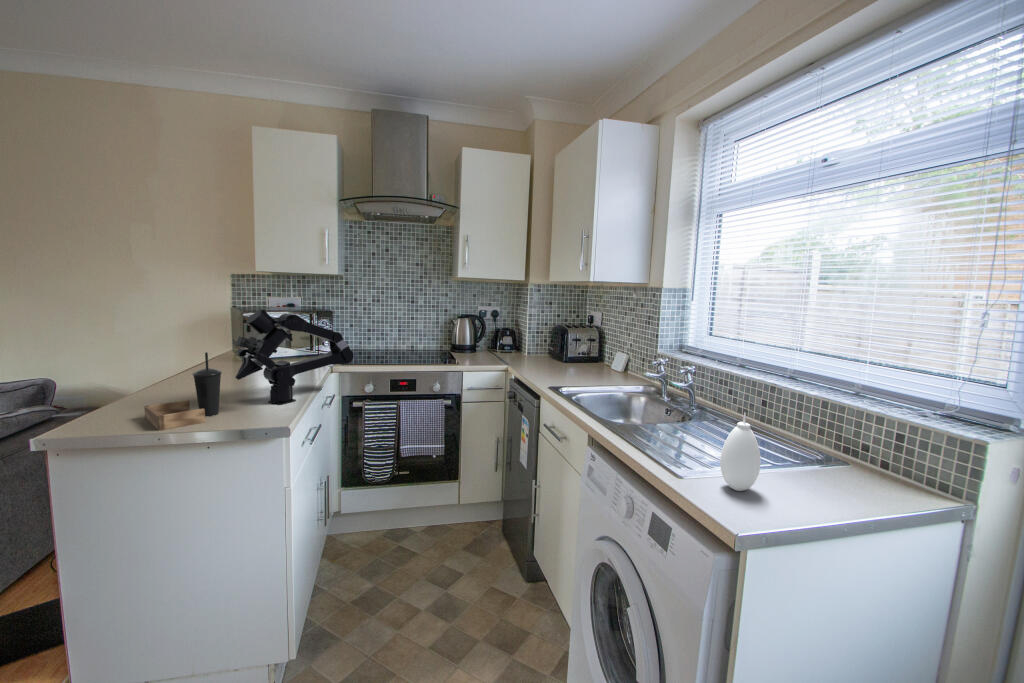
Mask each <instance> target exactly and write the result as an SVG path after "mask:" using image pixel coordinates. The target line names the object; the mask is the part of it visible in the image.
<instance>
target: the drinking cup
mask: <svg viewBox="0 0 1024 683" xmlns="http://www.w3.org/2000/svg"><path fill="white" fill-rule="evenodd" d="M208 356H209V353H208V352H204V357H205V358H204V359H205V360H204V361H205V368H202V369H199V370H197V371H195V372H193V373H192V376H193V379H194V386H195V391H196V392H195V393H196V397H197V404H198V409H203V408H204V409H205V416H209V417H214V416H213V415H215V416H217V415H219V413H220V412H219V409H220V408H219V407H220V393H221V392H220V391H221V378H222V375H221V374H223V372H222V370H218V369H215V368H210V367H209V357H208ZM216 414H217V415H216Z"/></svg>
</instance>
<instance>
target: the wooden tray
mask: <svg viewBox="0 0 1024 683" xmlns="http://www.w3.org/2000/svg"><path fill="white" fill-rule="evenodd" d="M190 405H191V404H190V400H189V399H184V400H177V401H170V402H163V403H156V404H150V405H145V406H144V407H143V408H144V419H145V420H146V421H147V420H148V421H149V422H150V424H151V425H152V424H153V425H154V426H155V427H154V426H153V425H152V426H153V427H154V428H156V429H157V428H158V429H159V430H160V431H164V430H163V429H165V430H170V428H171V429H176V428H180V427H186V426H192V425H197V424H203V423H206V417H205V409H204V408H203V409H199V408H197V409H191V406H190ZM148 421H147V422H148ZM149 422H148V423H149ZM158 429H157V430H158ZM159 430H158V431H159Z"/></svg>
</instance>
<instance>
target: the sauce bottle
mask: <svg viewBox="0 0 1024 683" xmlns="http://www.w3.org/2000/svg"><path fill="white" fill-rule="evenodd" d="M746 413H747V412H744V413H743V418H742V421H739V422H737V423H736V426H735V427H734V428H733V429H732V430H731V431H730V432H729V434H728V436H727V438H726V439H725V441H724V443H723V447H722V449H721V453H720V460H719V464H720V465H719V466H720V471H721V475H722V478H723V480H724V482H725V483H726V484H727V485H728V486H729V488H731V489H732V490H734V491H737V492H741V491H746V490H747V489H749V488H751V487H752V486H753V485H755V483H756V481H757V480H758V477H759V475H760V471H761V464H762V463H761V459H762V458H761V453H760V452H761V451H760V447H759V443H758V441H757V438H756V435H755V434H754V432H753V430H752V428H751V424H750V423H748V422H746V418H747V414H746Z"/></svg>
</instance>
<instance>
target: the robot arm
mask: <svg viewBox="0 0 1024 683" xmlns="http://www.w3.org/2000/svg"><path fill="white" fill-rule="evenodd" d="M245 323H246V324H247V325H248V326H250V327H251V328H252V329H253V330H254V331H256V332H257V333H258V334H260V335H262V334H264V336H263V337H262V338H261V339H260V338H258V339H257V338H256V337H254V336H249V337H248V338H247V337H244V336H240V335H239V336H238V337H237V339H236V341H235V346H237V347H241V348H238V349H237V350H236V352H235V354H236V355H238V356H239V357H240V358H241V362H242V363H241V365H240V367H239V370H238V372H237V374H236V375H235V377H234V378H235V379H236V380H238V381H239V380H241V379H243V378H245V377H248V376H250V375H252V374H255V373H257V372H259V371H262V370H263V374H262V375H263V377H264V379H265V380H267V381H268V383H269V384H270V390H269V397H270V398H269V400H268V403H270V402H272V403H271V404H275V403H277V404H276V405H284V404H283V403H285V404H288V403H287V402H289V403H293V402H295V401H297V399H294V395H293V390H294V389H293V386H294V387H295V383H296V379H295V378H294V377H295V376H296V375H299V374H302V373H306V372H309V371H313V370H316V369H321V368H324V367H327V366H331V365H348V364H351V363H352V362H353V360H354V357H355V356H354V351H353V350H351V349H350V346H349V344H348V343H347V342H346V340H344V338H343V335H342V334H341V332H339V331H333V330H331V329H328V328H325V327H321V326H319V325H316V324H313V323H310V322H308V321H307V320H306V319H304V318H302V317H300V316H299V315H297V314H291V313H282V314H281V315H280V316H278V317H272V316H271V315H270V314H268V312H267V311H266V310H265V309H264V308H263V309H262V308H260V309H259V310H258V311H255V312H254V313H252V314H250V315H249V317H247V319H246V321H245ZM277 326H278V327H279V328H278V327H277ZM285 330H287V331H292V332H299V333H300V332H301V333H305V334H308V335H311V336H314V337H318V338H321V339H325V340H327V341H328V344H329V351H328V352H326V353H325V354H324V355H320V356H319V355H318V356H315V357H310V358H308V359H306V358H305V359H302V360H299V361H295V362H292V363H291V362H290V361H287V360H283V359H282V360H279V361H276V362H275V361H274V360H272V359H271V358H270V357H271V356H272V355H273V354H277V353H278V350H277V349H278V348H279V347H280V346H281V345H282V344H283V343H284V341H288V342H293V333H290V332H287V331H285ZM263 367H264V368H263ZM292 401H293V402H292Z"/></svg>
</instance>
